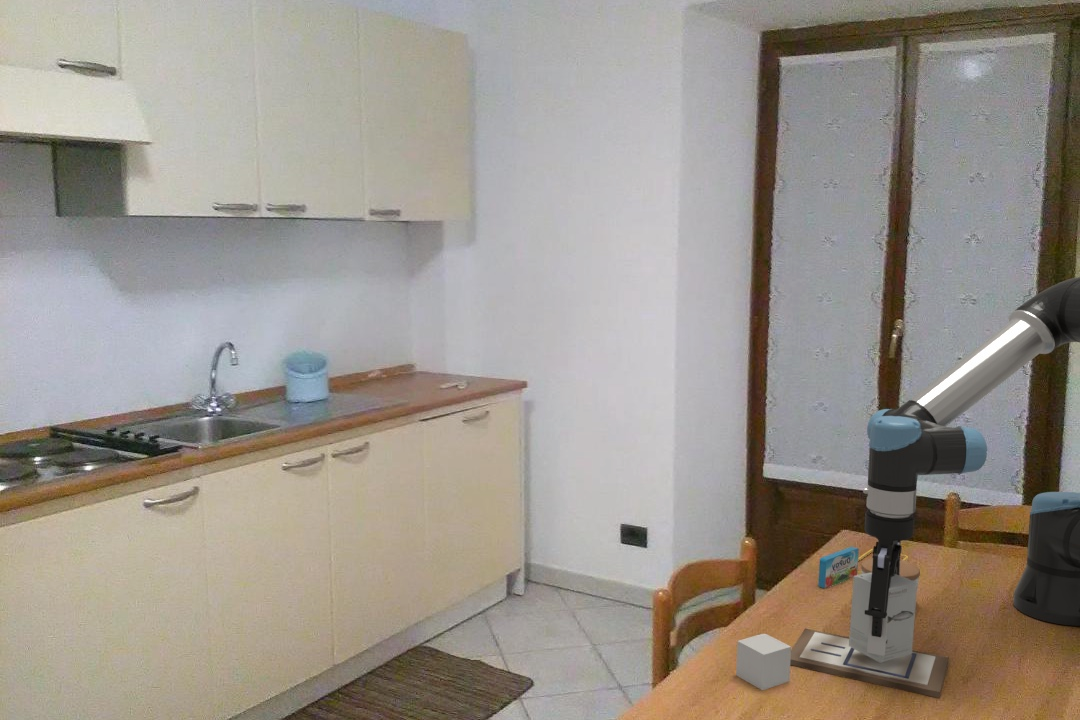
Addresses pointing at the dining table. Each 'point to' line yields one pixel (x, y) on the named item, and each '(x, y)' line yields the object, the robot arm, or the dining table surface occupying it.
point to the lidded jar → (906, 569)
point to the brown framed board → (869, 664)
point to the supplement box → (897, 612)
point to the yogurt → (838, 567)
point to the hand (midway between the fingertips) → (881, 641)
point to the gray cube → (763, 661)
